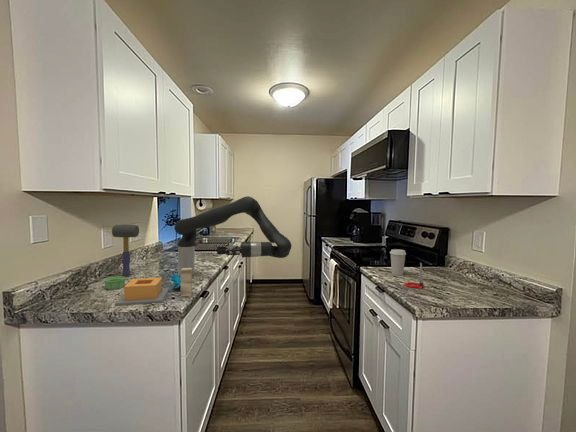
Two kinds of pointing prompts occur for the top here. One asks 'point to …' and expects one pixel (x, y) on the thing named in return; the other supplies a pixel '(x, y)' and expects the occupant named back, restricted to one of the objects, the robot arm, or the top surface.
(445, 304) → the top surface
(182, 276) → the tall wooden block
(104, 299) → the top surface
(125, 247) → the rubber mallet
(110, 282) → the ramekin
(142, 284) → the orange square frame
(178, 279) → the gear
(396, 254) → the coffee cup
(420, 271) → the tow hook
